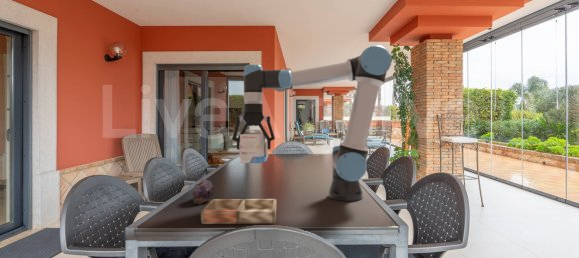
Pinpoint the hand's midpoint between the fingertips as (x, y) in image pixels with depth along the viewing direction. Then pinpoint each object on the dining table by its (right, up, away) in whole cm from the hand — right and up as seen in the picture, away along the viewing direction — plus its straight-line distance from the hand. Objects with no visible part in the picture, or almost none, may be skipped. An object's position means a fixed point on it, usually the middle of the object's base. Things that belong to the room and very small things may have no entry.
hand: (253, 157), depth 134 cm
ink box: (0, -2, 0) cm, 2 cm away
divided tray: (-3, -20, -15) cm, 25 cm away
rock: (-22, -20, +6) cm, 30 cm away
